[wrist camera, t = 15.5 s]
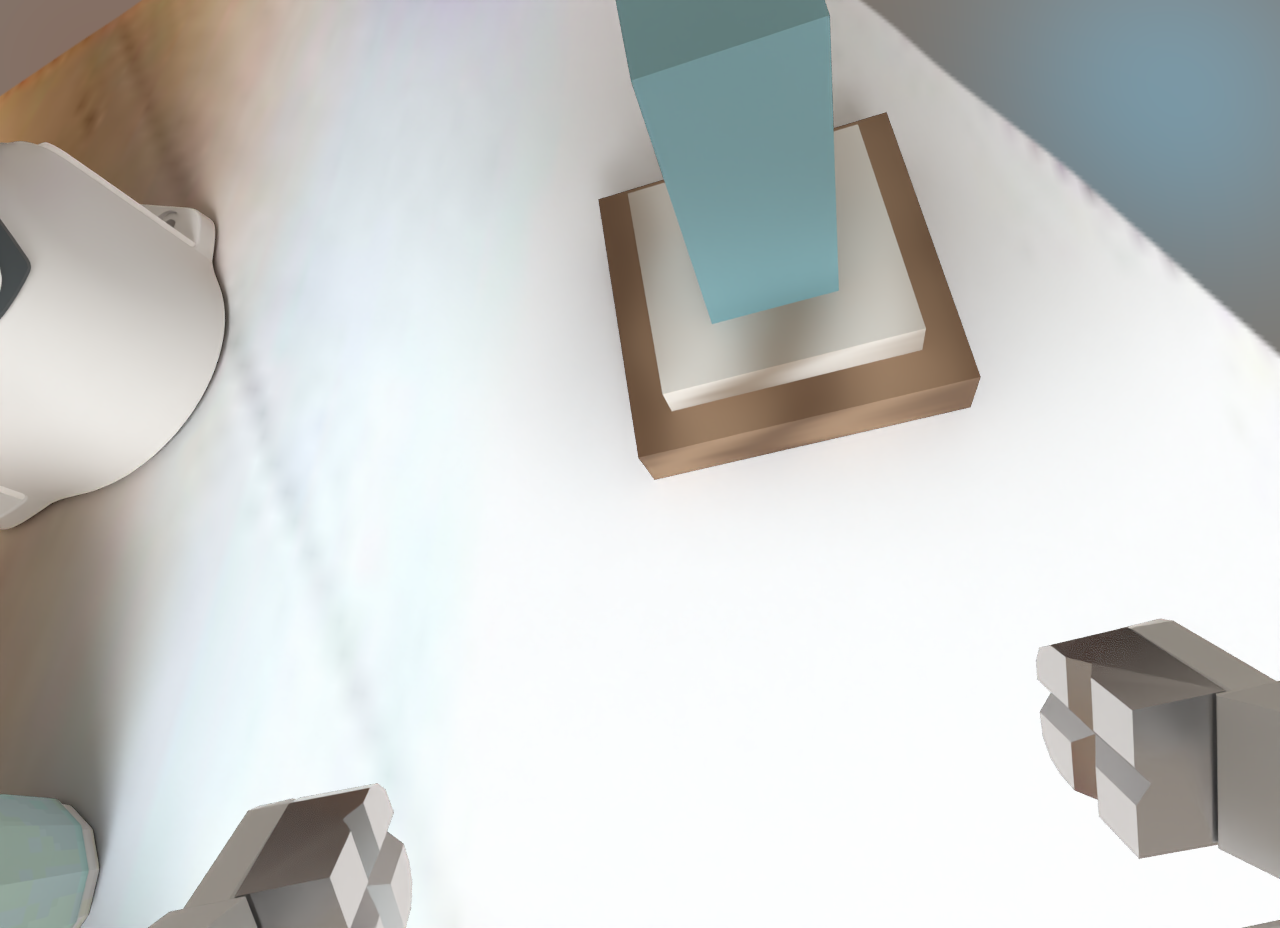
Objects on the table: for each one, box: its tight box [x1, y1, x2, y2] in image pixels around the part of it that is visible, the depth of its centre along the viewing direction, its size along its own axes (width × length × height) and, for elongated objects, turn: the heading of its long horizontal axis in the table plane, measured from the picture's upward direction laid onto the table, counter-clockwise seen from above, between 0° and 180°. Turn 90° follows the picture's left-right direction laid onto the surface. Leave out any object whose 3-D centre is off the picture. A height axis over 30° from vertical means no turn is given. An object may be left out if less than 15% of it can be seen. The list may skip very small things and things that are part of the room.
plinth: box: [598, 112, 980, 480], centre depth 30 cm, size 12×12×4 cm
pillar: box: [616, 0, 839, 324], centre depth 23 cm, size 4×4×11 cm
